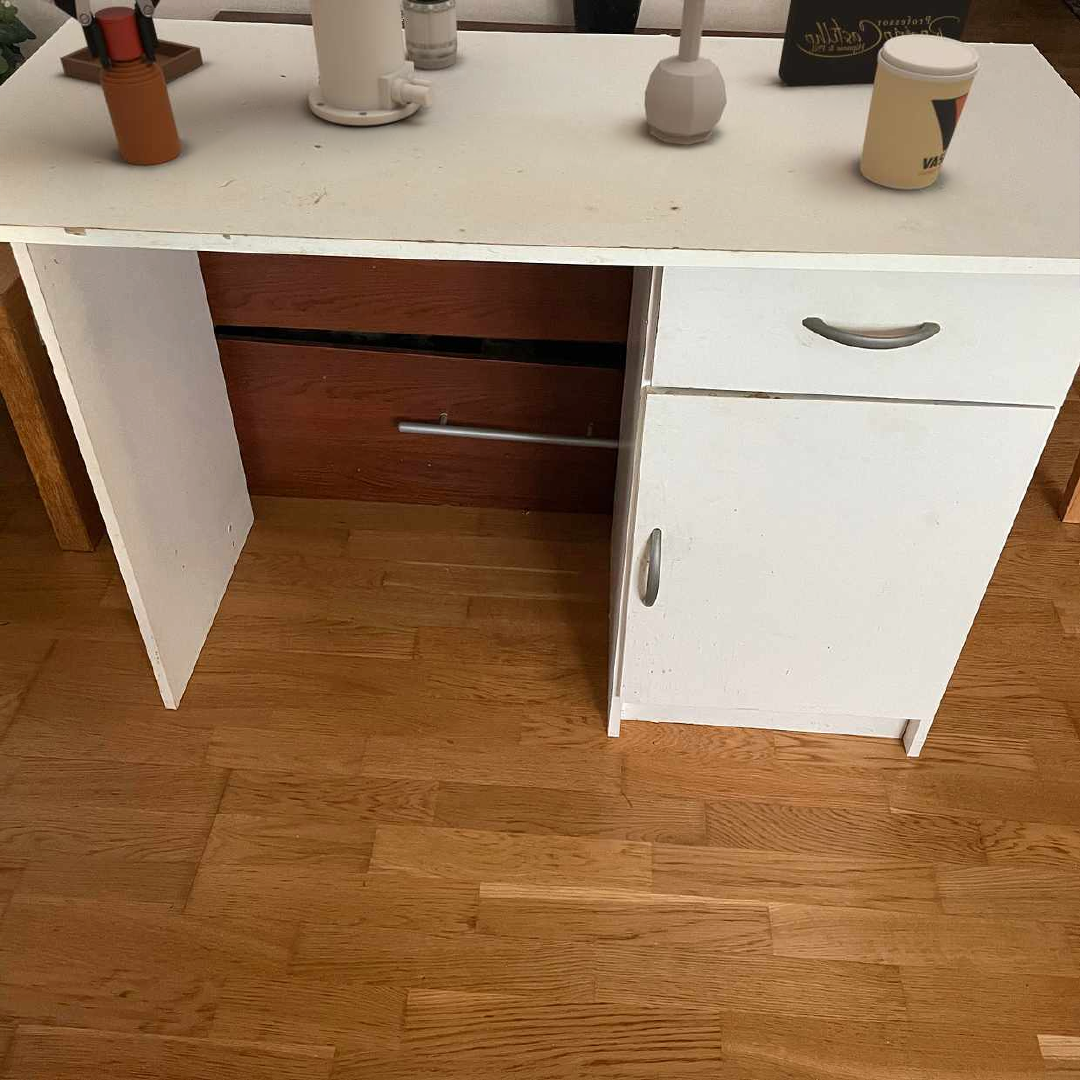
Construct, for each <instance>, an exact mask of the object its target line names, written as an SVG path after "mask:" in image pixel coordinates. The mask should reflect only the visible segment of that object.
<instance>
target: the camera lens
mask: <svg viewBox="0 0 1080 1080" xmlns="http://www.w3.org/2000/svg"><path fill="white" fill-rule="evenodd" d="M401 3H402V15H403V17H402V18H403V27H404V39H405V47H406V52H407V56H408V59H409V60H408V61H411V62H414V68H417V69H422V70H441V69H446V68H449V67H451V66H453V65H454V64H455V62H456V59H457V53H458V29H457V28H458V27H457V26H458V25H457V8H456V7H457V6H456V5H457V4H456V0H402V1H401Z"/></svg>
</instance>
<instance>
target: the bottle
mask: <svg viewBox="0 0 1080 1080" xmlns="http://www.w3.org/2000/svg"><path fill="white" fill-rule="evenodd" d="M109 62H110V66H111V67H109V69H103V68H102V69H101V70H100V74H99V79H100V83H101V84H100V83H99V84H100V86H101V88H102V93H103V96H104V101H105V103H106V107H107V110H108V114H109V117H110V121H111V125H112V127H113V132H114V134H115V138H116V141H117V145H118V148H119V151H120V155H121V158H122V159H123V160H124V162H127V163H129V164H133V165H138V166H153V165H159V164H163V163H167V162H169V161H172V160H174V159H175V158H177V157H178V156H179V155H180V154H181V153H182V151H183V150H182V144H181V140H180V137H179V132H178V128H177V124H176V121H175V116H174V112H173V108H172V102H171V100H170V99H171V98H170V96H169V92H168V87H167V84H166V83H165V79H164V75H163V71H162V68H161V67H160V66H159V65H158V64H157V63H156V62H151V61H148V59H147V58H146V56H144V55H142V56H140V57H138V58H134V59H130V60H113V59H109Z"/></svg>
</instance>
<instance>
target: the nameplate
mask: <svg viewBox="0 0 1080 1080" xmlns="http://www.w3.org/2000/svg"><path fill="white" fill-rule="evenodd" d="M972 2H973V0H790V2H789V7H788V9H789V10H788V13H787V19H786V26H785V32H784V38H783V43H782V49H781V55H780V59H779V66H778V72H777V73H778V74H777V75H778V78H779V79H780V80H781V81H782V83H783V84H784V85H785V86H786V87H789V88H790V87H811V86H813V87H814V86H815V87H816V86H835V85H837V86H839V85H862V84H863V85H864V84H865V85H866V84H874V81H875V76H876V71H877V66H878V53H879V51H880V49H881V48H883V45H884V44H885V43H886V42H887V41H888V40H890V39H891V38H894V37H898V36H903V35H933V36H940V37H945V38H949V39H953V40H957V41H960V42H961V40H962V36H963V33H964V29H965V27H966V26H965V25H966V23H967V19H968V16H969V13H970V8H971V6H972Z"/></svg>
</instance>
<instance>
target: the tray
mask: <svg viewBox="0 0 1080 1080" xmlns="http://www.w3.org/2000/svg"><path fill="white" fill-rule="evenodd" d="M158 42H159V47H160V48H158V49H154V53H155V57H156V61H155V62H156V63H157V64H158V65H159V66H160V67H161V68H162V71H163V75H164V79H165V83H166V85H167V84H169V83H171V82H172V81H175V80H177V79H178V78H181V77H183V76H184V75H187V74H188V73H190V72H192V71H194V70H196V69H198V68H200V67H202V66H204V62H203V56H202V53H201V48H200V47H198V46H194V45H188V44H184V43H179V42H174V41H171V40H165V39H161V38H158ZM143 55H144V56H145V54H143ZM60 62H61V66H62V70H63V72H64V76H66V77H71V78H75V79H79V80H83V81H88V82H92V83H97V84H100V85H101V83H100V79H99V74H100V70H101V69H102V68H103V67H102V65H101V63H100V61H99V59H98V58H91V56H90V53H89V50H88V46H87V45H86V46H84V47H81V48H80V49H77V50H75V51H73V52H71V53H68V54H66V55H64V56H61V57H60Z"/></svg>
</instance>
